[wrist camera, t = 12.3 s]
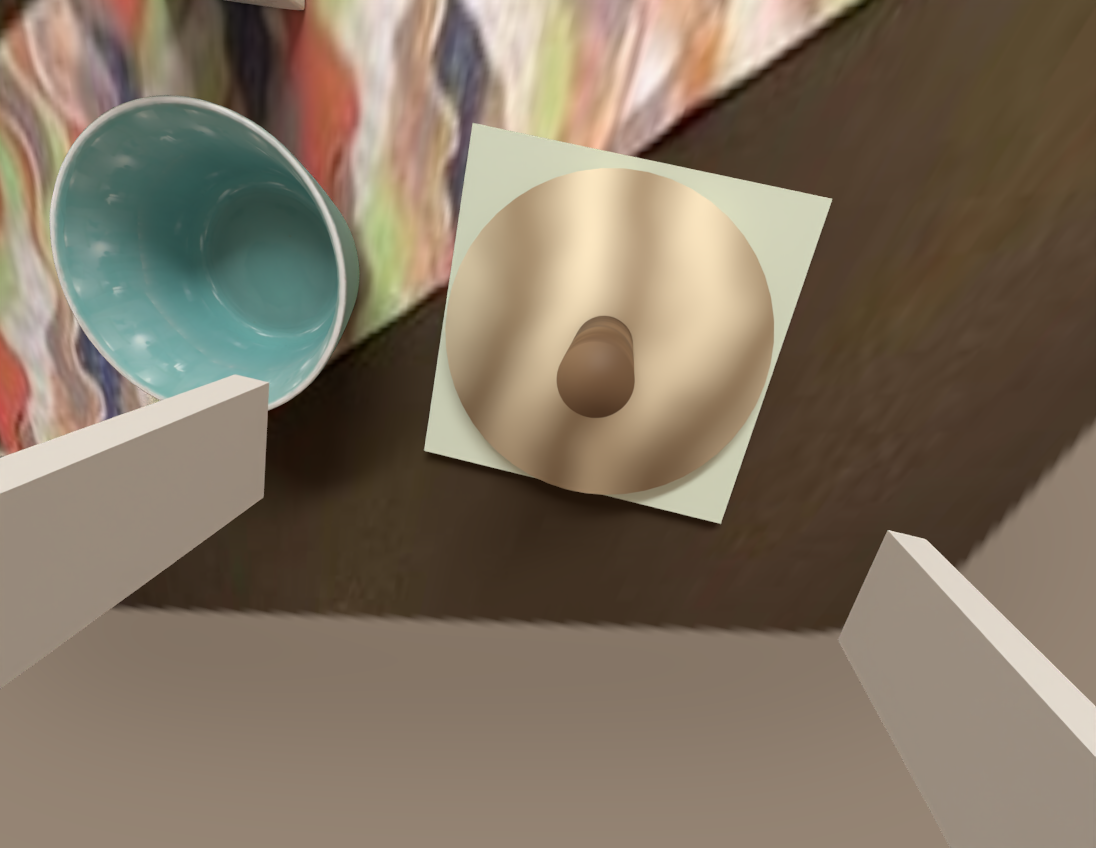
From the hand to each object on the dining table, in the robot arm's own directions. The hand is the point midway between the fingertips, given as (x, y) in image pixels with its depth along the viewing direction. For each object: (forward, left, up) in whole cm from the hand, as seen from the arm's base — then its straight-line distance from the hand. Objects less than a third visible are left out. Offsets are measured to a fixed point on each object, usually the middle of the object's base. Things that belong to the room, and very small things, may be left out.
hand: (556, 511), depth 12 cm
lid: (0, 0, -24) cm, 24 cm away
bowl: (-21, 0, -25) cm, 32 cm away
